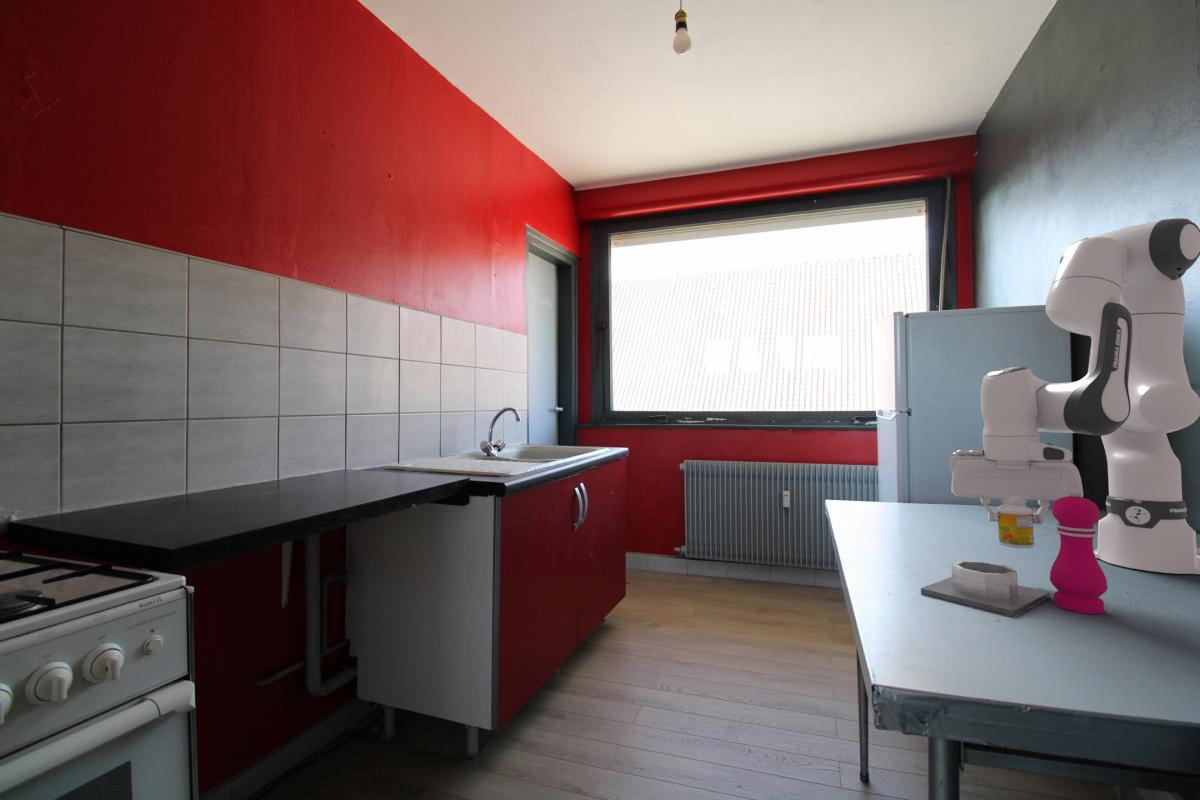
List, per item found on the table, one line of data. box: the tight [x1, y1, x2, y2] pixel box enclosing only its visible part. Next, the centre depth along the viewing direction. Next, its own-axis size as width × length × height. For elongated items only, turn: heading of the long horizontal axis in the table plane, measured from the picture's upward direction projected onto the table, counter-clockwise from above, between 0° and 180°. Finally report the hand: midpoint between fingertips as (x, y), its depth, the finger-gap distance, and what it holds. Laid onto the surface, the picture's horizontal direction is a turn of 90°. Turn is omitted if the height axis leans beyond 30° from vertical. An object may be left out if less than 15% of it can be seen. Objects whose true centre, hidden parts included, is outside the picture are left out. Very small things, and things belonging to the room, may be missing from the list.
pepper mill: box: [1049, 487, 1108, 615], centre depth 90 cm, size 7×7×20 cm
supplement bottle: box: [996, 496, 1035, 549], centre depth 105 cm, size 5×5×10 cm
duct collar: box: [920, 560, 1051, 618], centre depth 96 cm, size 16×14×5 cm
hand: (1015, 522), depth 105 cm, fingers closed on supplement bottle, 5 cm apart
